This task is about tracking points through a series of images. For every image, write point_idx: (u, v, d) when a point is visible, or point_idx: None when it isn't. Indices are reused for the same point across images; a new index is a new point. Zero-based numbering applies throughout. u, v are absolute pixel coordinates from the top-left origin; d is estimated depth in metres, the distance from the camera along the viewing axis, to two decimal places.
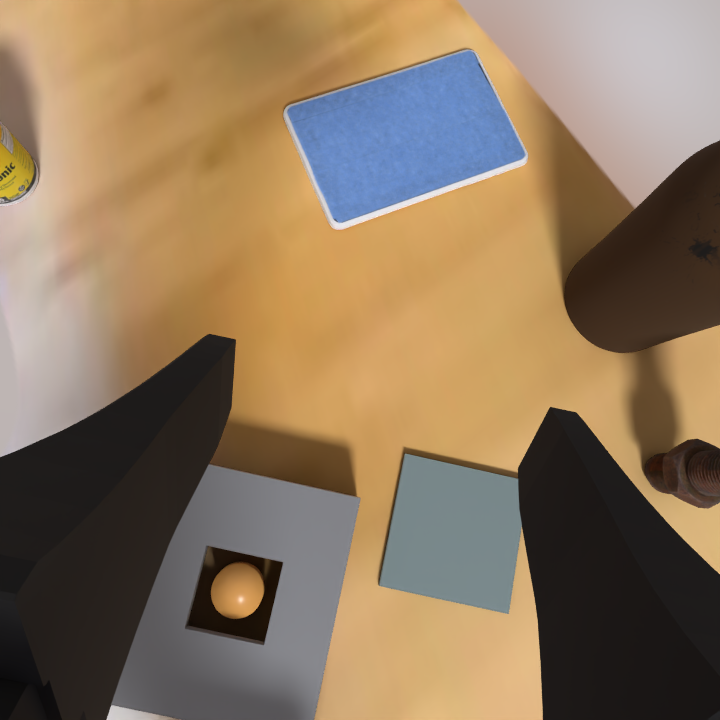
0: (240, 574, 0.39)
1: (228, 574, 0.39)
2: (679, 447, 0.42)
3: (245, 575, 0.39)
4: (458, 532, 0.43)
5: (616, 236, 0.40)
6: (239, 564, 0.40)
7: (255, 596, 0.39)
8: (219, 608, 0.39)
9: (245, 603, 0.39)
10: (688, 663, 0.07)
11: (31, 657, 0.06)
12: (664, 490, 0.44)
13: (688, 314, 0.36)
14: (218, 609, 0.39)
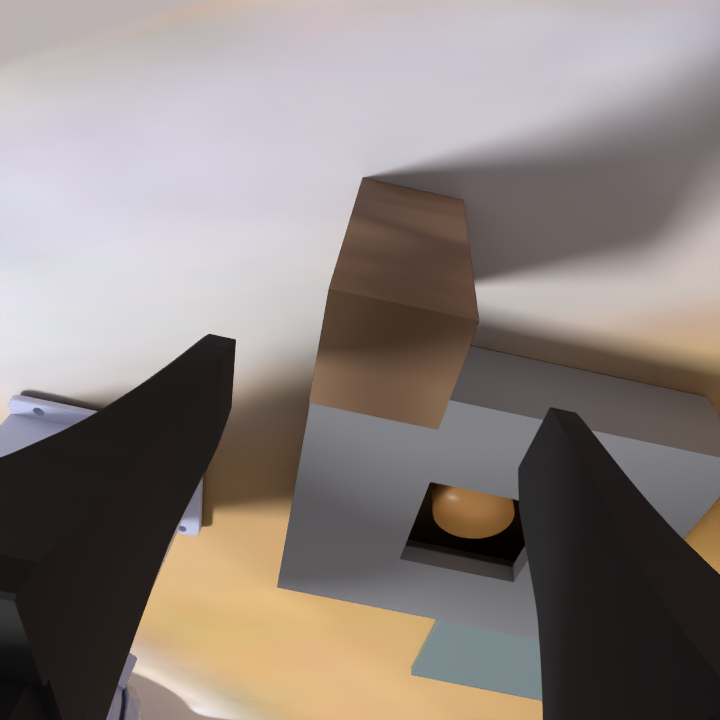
0: (497, 517, 0.25)
1: (500, 505, 0.25)
2: None
3: (495, 522, 0.25)
4: (504, 656, 0.36)
5: None
6: (512, 515, 0.25)
7: (462, 530, 0.26)
8: (449, 493, 0.25)
9: (453, 520, 0.26)
10: (688, 663, 0.07)
11: (31, 657, 0.06)
12: None
13: None
14: (448, 492, 0.25)
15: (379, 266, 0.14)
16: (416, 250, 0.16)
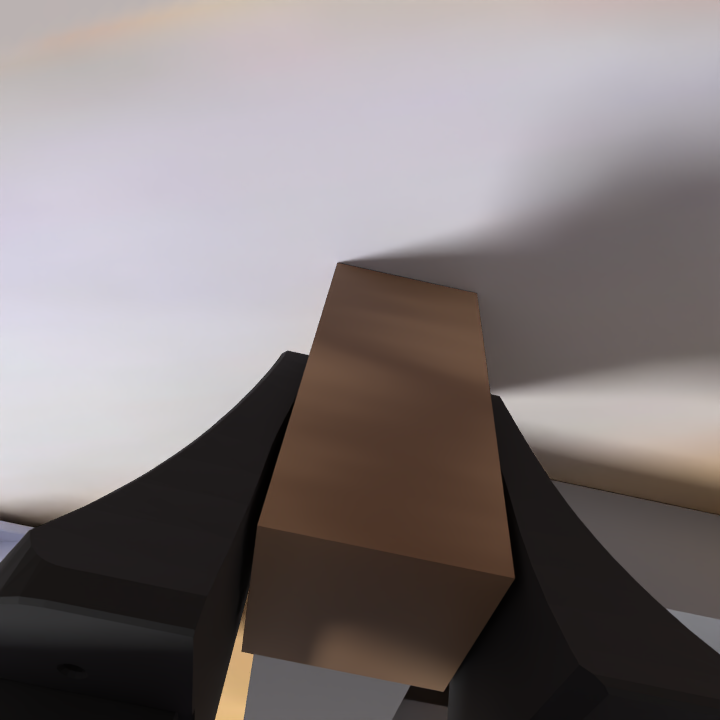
0: None
1: None
2: None
3: None
4: None
5: None
6: None
7: None
8: None
9: None
10: (549, 635, 0.07)
11: (189, 688, 0.06)
12: None
13: None
14: None
15: (348, 453, 0.09)
16: (410, 409, 0.10)
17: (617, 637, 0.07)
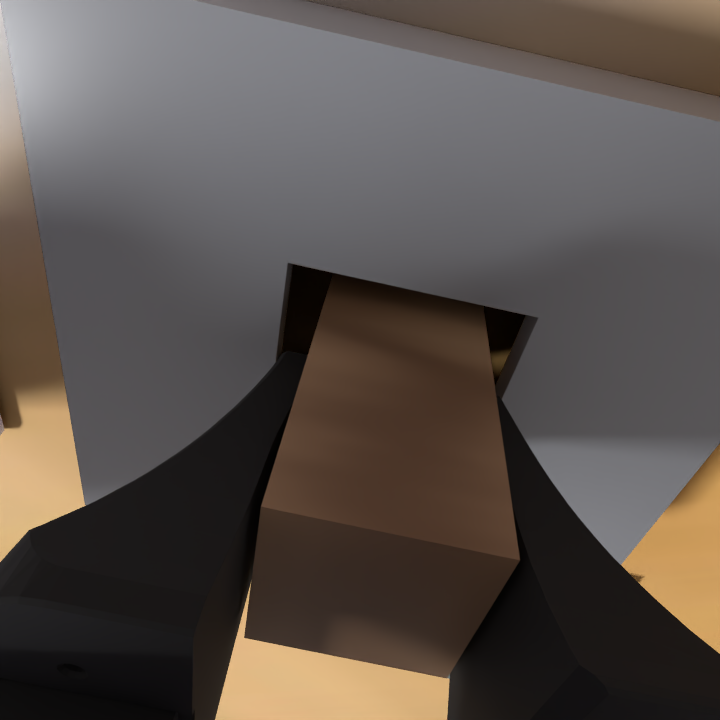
0: None
1: None
2: None
3: None
4: None
5: None
6: None
7: None
8: None
9: None
10: (549, 635, 0.07)
11: (188, 688, 0.06)
12: None
13: None
14: None
15: (352, 437, 0.09)
16: (413, 394, 0.10)
17: (617, 637, 0.07)
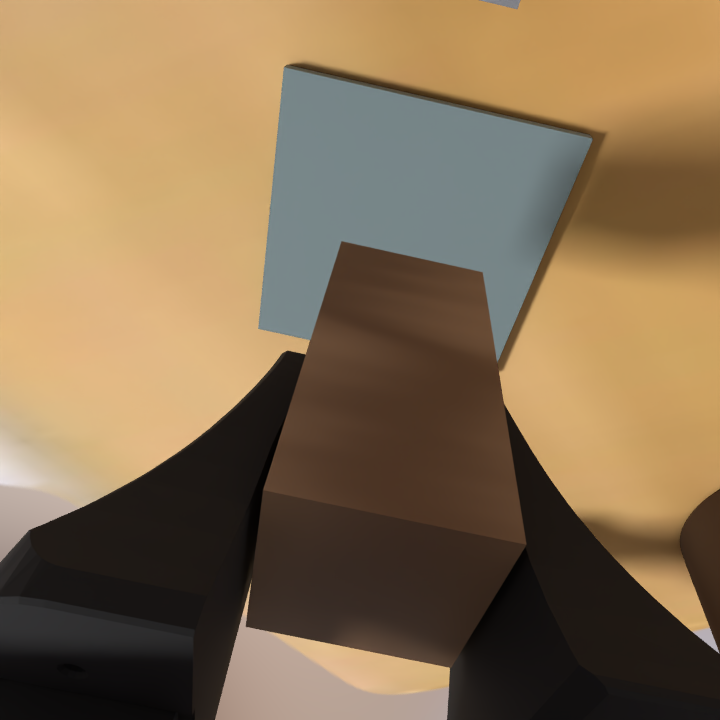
0: None
1: None
2: None
3: None
4: (401, 251, 0.21)
5: None
6: None
7: None
8: None
9: None
10: (549, 634, 0.07)
11: (188, 688, 0.06)
12: None
13: None
14: None
15: (356, 422, 0.09)
16: (417, 380, 0.10)
17: (617, 637, 0.07)
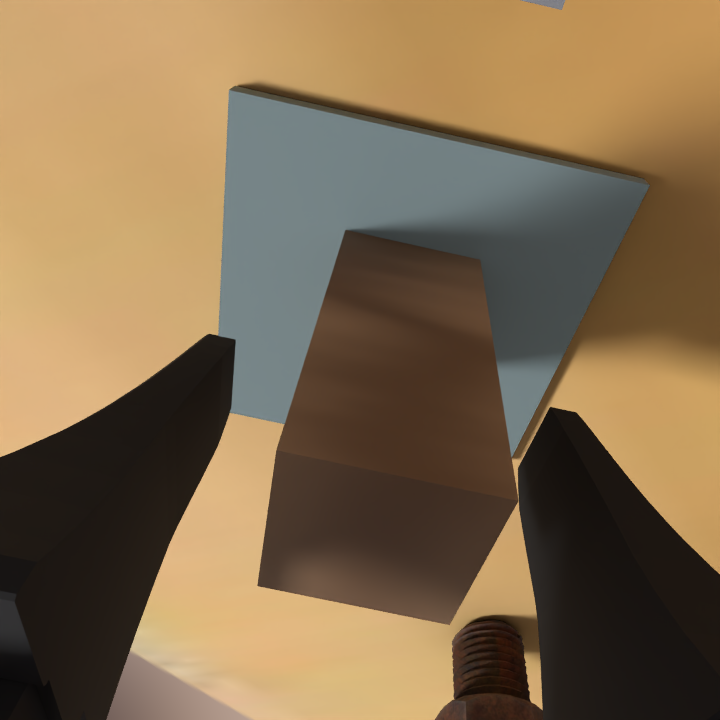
0: None
1: None
2: None
3: None
4: None
5: None
6: None
7: None
8: None
9: None
10: (688, 663, 0.07)
11: (31, 657, 0.06)
12: (460, 653, 0.25)
13: None
14: None
15: (360, 392, 0.09)
16: (418, 356, 0.11)
17: None
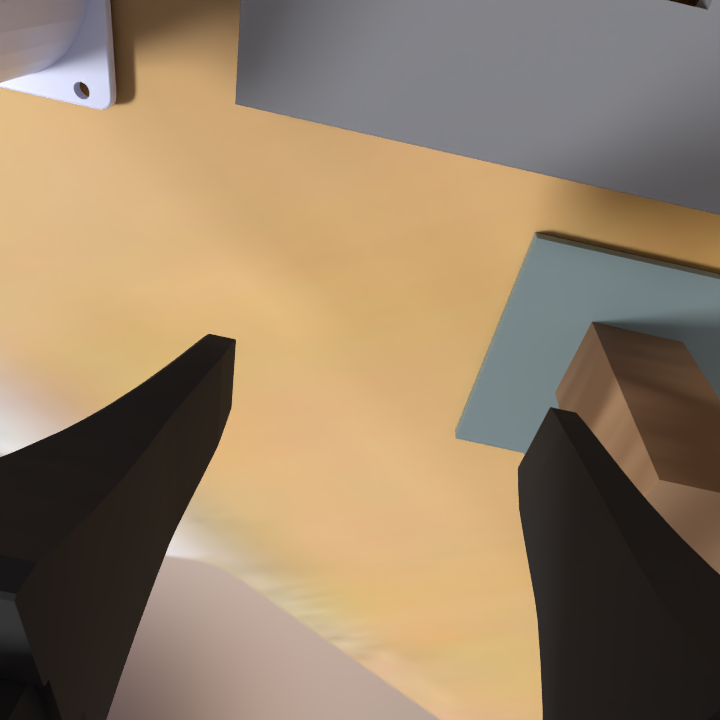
0: None
1: None
2: None
3: None
4: None
5: None
6: None
7: None
8: None
9: None
10: (688, 663, 0.07)
11: (31, 657, 0.06)
12: None
13: None
14: None
15: (676, 443, 0.16)
16: (690, 419, 0.17)
17: None
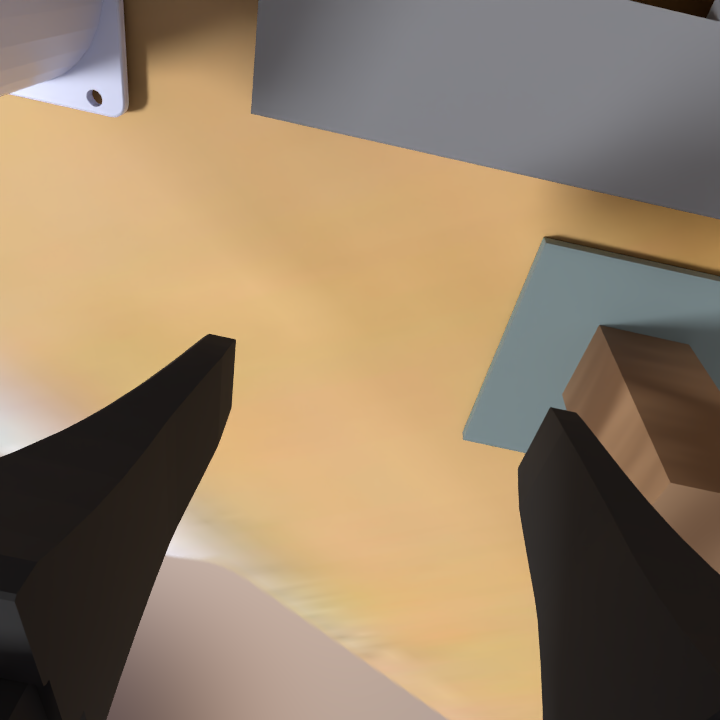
0: None
1: None
2: None
3: None
4: None
5: None
6: None
7: None
8: None
9: None
10: (688, 663, 0.07)
11: (31, 657, 0.06)
12: None
13: None
14: None
15: (685, 447, 0.17)
16: (699, 422, 0.18)
17: None
